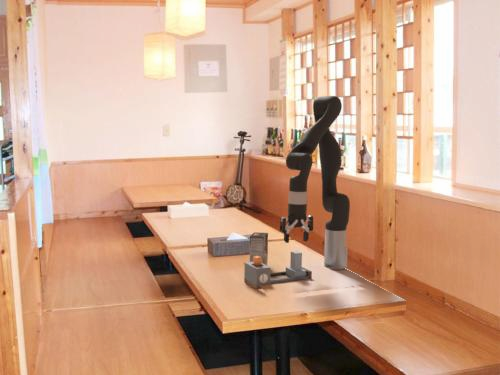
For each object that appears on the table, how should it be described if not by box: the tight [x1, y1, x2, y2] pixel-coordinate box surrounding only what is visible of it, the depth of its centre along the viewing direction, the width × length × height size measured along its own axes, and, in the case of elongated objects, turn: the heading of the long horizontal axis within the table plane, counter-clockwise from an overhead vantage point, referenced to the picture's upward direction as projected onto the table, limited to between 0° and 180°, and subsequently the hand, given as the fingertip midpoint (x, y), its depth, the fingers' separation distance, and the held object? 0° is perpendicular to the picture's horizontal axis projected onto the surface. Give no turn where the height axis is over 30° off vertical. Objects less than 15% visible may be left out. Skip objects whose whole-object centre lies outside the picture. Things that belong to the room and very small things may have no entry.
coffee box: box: [249, 231, 269, 266], centre depth 276 cm, size 9×6×16 cm
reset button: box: [253, 256, 262, 265], centre depth 255 cm, size 3×3×3 cm
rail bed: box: [243, 266, 313, 290], centre depth 260 cm, size 25×11×4 cm, turn 116°
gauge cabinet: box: [243, 261, 272, 286], centre depth 255 cm, size 6×11×6 cm, turn 26°
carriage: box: [285, 250, 306, 277], centre depth 263 cm, size 5×8×10 cm, turn 25°
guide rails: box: [269, 270, 310, 285], centre depth 261 cm, size 18×11×1 cm, turn 116°
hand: (296, 241), depth 261 cm, fingers open, 8 cm apart
